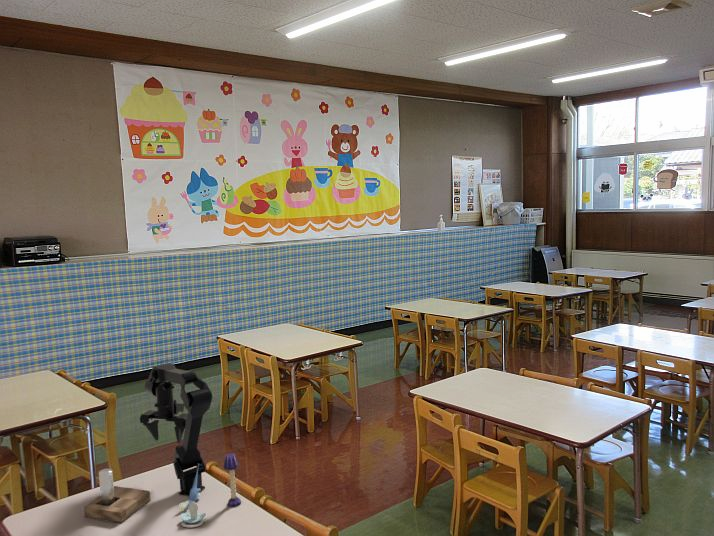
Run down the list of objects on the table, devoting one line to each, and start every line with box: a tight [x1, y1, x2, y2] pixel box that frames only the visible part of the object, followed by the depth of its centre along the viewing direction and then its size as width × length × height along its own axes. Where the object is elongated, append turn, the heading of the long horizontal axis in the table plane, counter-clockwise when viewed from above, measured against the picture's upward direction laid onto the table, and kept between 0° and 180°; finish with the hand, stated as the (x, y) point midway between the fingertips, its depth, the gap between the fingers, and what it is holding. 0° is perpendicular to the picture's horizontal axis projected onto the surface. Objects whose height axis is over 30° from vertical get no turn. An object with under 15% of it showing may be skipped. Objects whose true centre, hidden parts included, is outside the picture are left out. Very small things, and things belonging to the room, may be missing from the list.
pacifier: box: [181, 501, 207, 529], centre depth 181 cm, size 7×6×6 cm
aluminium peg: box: [98, 467, 115, 506], centre depth 189 cm, size 4×4×13 cm
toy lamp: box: [223, 452, 242, 508], centre depth 191 cm, size 5×5×17 cm
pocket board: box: [83, 485, 151, 524], centre depth 191 cm, size 14×14×4 cm
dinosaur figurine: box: [178, 464, 202, 513], centre depth 193 cm, size 3×15×10 cm
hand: (168, 441), depth 211 cm, fingers open, 9 cm apart
